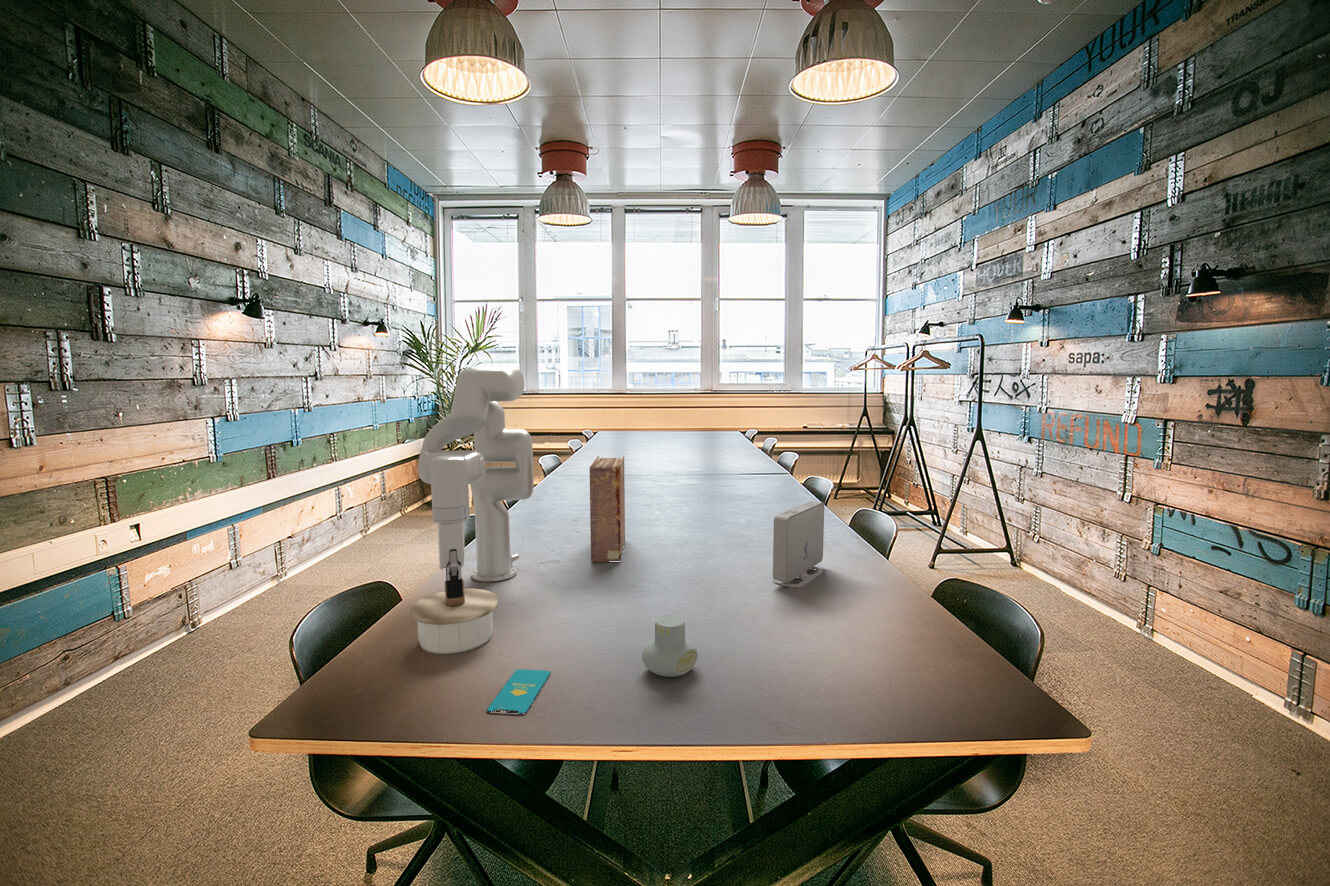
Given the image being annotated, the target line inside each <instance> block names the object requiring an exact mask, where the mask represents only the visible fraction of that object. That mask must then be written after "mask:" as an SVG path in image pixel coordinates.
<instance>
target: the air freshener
mask: <svg viewBox="0 0 1330 886" xmlns="http://www.w3.org/2000/svg"><path fill="white" fill-rule="evenodd" d="M698 657H699V653H698V650H697V648H696V646H695V644H693V643H692V642H691V641H690V640H689V639H687V638H686V622H685V620H684V619H683V618H681V617H680V616H676V615H666V616H665V615H664V616H661V617H659V618H657V619H656V620H655V622H654V638H653V639H651V640H650V641H649V642H648V643H646V645H645V647H644V648H643V649H642V653H641V659H642V662H643V665H644V666H645V667H646V669H647V670H649V671H650V672H652V673H653V674H655V675H658V676H661V677H667V678H674V677H676V678H677V677H680V675H681V676H682V675H685V674H688V672H690V671H691V670H692V669H693V667H695V665H696V663H697V661H698Z"/></svg>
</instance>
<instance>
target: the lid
mask: <svg viewBox="0 0 1330 886" xmlns="http://www.w3.org/2000/svg"><path fill="white" fill-rule="evenodd" d="M462 582H463V597H459V598H451V599H448V598H447V588H446V580H445V581H444V591H439V592H436V593H432V594H429V595H426V596H423V597H422V598H420V599H418V600H417V601H415V602H414V603H413V604H412V605H411V607H410V616H411V618H412V620H414V621H416V622H417V623H418V622H421V623H425V624H433V625H447V624H457V623H463V622H467V621H472V620H475V619H478V618H481V617H483V616H485V615H487V614H489V613H491V612H492V613H493V612H494V611H495V610H496V609H497V608H498V607H499V606H498V605H499V598H498V596H497V594H495V593H494V592H492V591H489V590H485V589H481V588H479V589H478V588H465V579H463V578H462Z"/></svg>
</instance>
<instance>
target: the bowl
mask: <svg viewBox="0 0 1330 886" xmlns="http://www.w3.org/2000/svg"><path fill="white" fill-rule="evenodd" d="M493 629H494V628H493V611H492V612H491V613H489V614H487V615H485V616H483V617H481V618H478V619H475V620H472V621H467V622H463V623H457V624H447V625H433V624H425V623H421V622H418V621H417V637H418V642H419V646H420V648H421V649H422V651H425V652H426V653H430V654H435V655H451V654H452V655H453V654H460V653H465V652H469V651H472V650H475V649H477V648H479V647H482V646H483V645H485V644H486V643H488V642H489V640H491V638H492V636H493Z"/></svg>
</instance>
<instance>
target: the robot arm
mask: <svg viewBox="0 0 1330 886" xmlns="http://www.w3.org/2000/svg"><path fill="white" fill-rule="evenodd" d="M524 389H525V379H524V374H523V372H522V371H521V370H520V369H519V368H518V367H471V368H465V369H463V370H461V371H460V372H459V373H458V376H457V379H456V384H455V391H454V394H453V398H452V404H451V407H450V413H449V414H448V415H446V416H445V417H443V418H442V419H441V420H440V421H438V422H437V423H436V424H434V426H433V427H432V428H431V429H430V430H429V431H428V432H427V433H426V435H425V437H424V439H423V441H422V445H421V449H420V452H419V458H418V462H417V471H418V472H417V473H418V477H419V478H420V480H421V481H422V482H424V483H425V484H430V489H431V509H432V510H431V511H432V522H433V523H435V524H437V539H438V540H437V542H438V559H439V560H438V563H439V569H440V570H441V571H442V570H444V569H445V572H446V573H445V575H446V576H445V581H446V588H447V598H448V599H451V598H459V597H463V582H462V579H463V578H462V568H463V567H464V566H465V565H464V564H465V563H464V562H465V541H466V540H465V522H466V521H468V520H470V517H471V516H470V491H471V495H472V502H473V508H474V520H475V521H474V526H475V551H476V569H474V570H473V571H472V572H471V578H472V579H473V580H475V581H477V582H484V583H487V582H488V583H489V582H491V583H493V582H501V581H505V580H508V579H510V578H511V579H512V578H513V577H515V576H516V575H517V571H518V570H517V568H516V567H515V566H514V565H513V563H514V562H515V561H518V560H519V558H520V557H519V554H518V553H513V554H512V551H511V526H510V525H511V524H510V523H511V522H510V519H511V518H510V514H509V510H508V509H507V508H506V507H505V505H504V504H503V503H502V502H503V501H523V500H524V501H525V500H528V499H530V498H531V497H532V496H533V493H534V489H535V488H534V487H535V486H534V483H535V482H534V481H535V479H534V478H535V476H534V451H533V450H534V448H533V447H534V446H533V440H532V436H531V433H529V431H527V430H526V429H524V428H523V429H522V428H506V421H505V420H506V419H505V417H506V416H505V411H504V408H503V407H502V405H501V404H500V402H514V401H517V400H519V398H521V397H522V395H523V393H524ZM471 434H473V441H474V450H442V449H443V448H445V446H447V445H449V444H450V443H453V442H454V441H457V440H459V439H462V438H464V437H468V436H469V435H471ZM487 463H514V464H515V466H487ZM469 486H470V489H469Z"/></svg>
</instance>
